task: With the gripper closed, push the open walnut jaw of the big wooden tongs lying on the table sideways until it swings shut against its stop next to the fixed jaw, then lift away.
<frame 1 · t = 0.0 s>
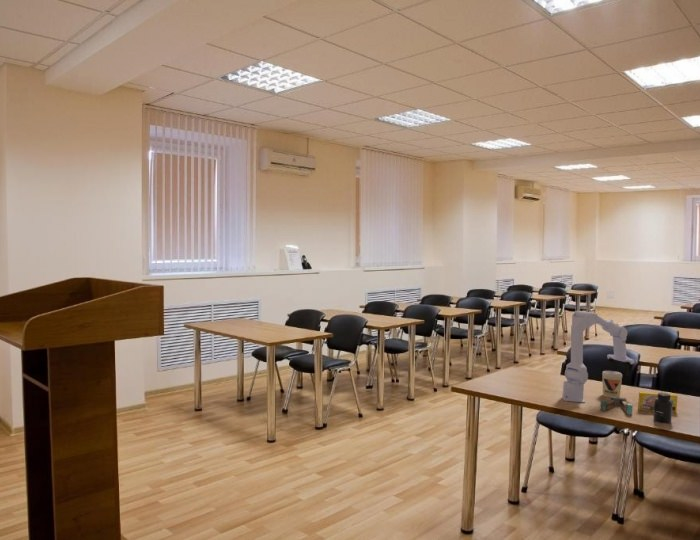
hand: (621, 374, 279), 11 cm above the table, tool pointing down, fingers open, 7 cm apart
supplement bottle: (662, 421, 237), on the table
tongs base: (618, 405, 259), on the table
coffee cup: (611, 396, 277), on the table
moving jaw: (607, 403, 254), point 2 cm above the table, hinge at -30.0°
candy box: (657, 411, 252), on the table
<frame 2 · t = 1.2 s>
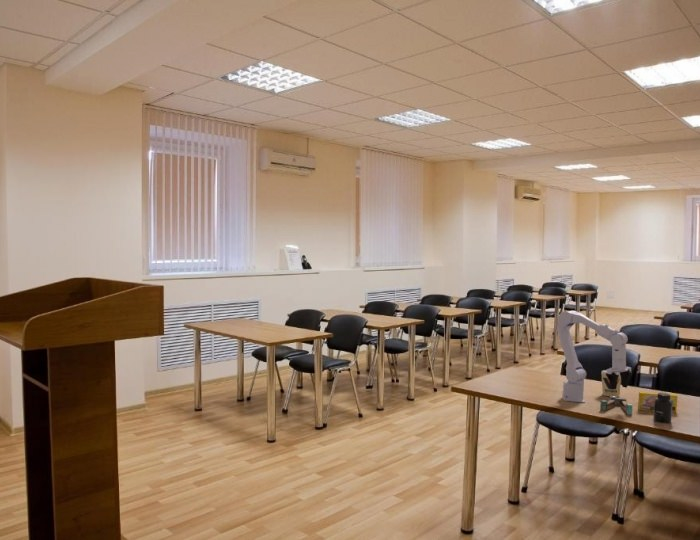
hand: (619, 388, 251), 10 cm above the table, tool pointing down, fingers open, 7 cm apart
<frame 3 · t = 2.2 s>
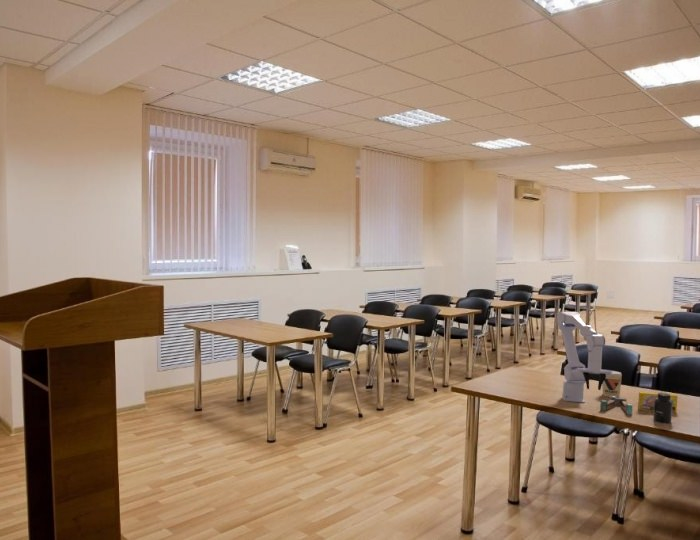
hand: (593, 389, 252), 9 cm above the table, tool pointing down, fingers open, 4 cm apart
nothing on the table moved.
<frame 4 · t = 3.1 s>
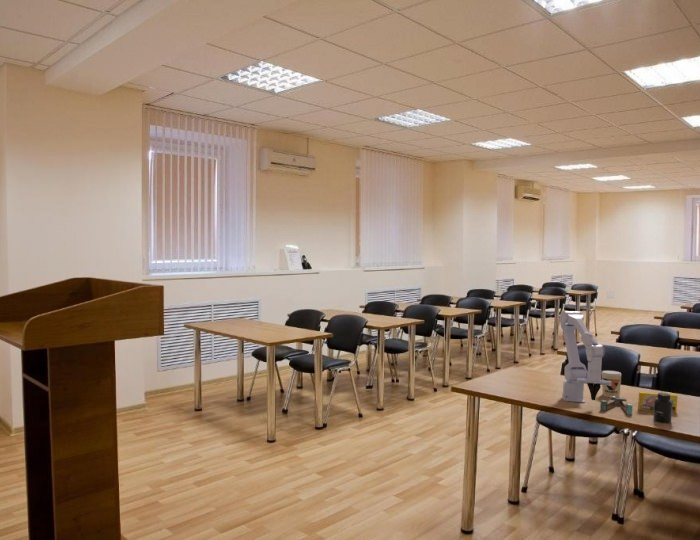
hand: (593, 399, 252), 4 cm above the table, tool pointing down, fingers closed
nothing on the table moved.
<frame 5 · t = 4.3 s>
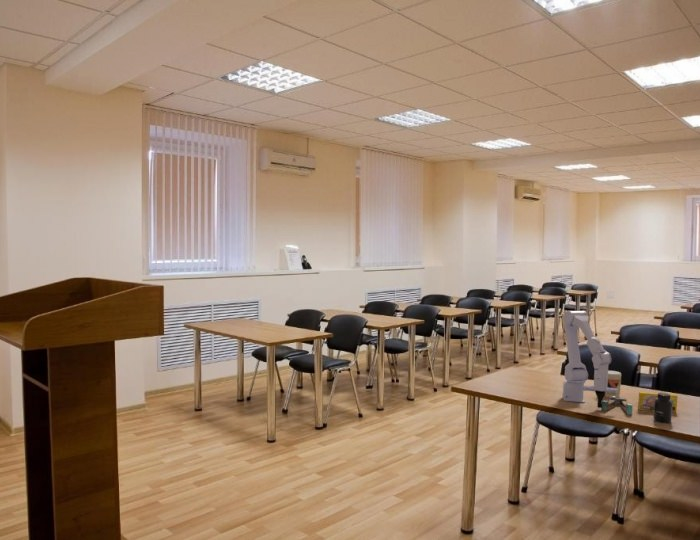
hand: (599, 407, 251), 1 cm above the table, tool pointing down, fingers closed, pressing on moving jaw
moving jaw: (608, 403, 254), point 2 cm above the table, hinge at -27.9°, touching gripper
everything else where it was.
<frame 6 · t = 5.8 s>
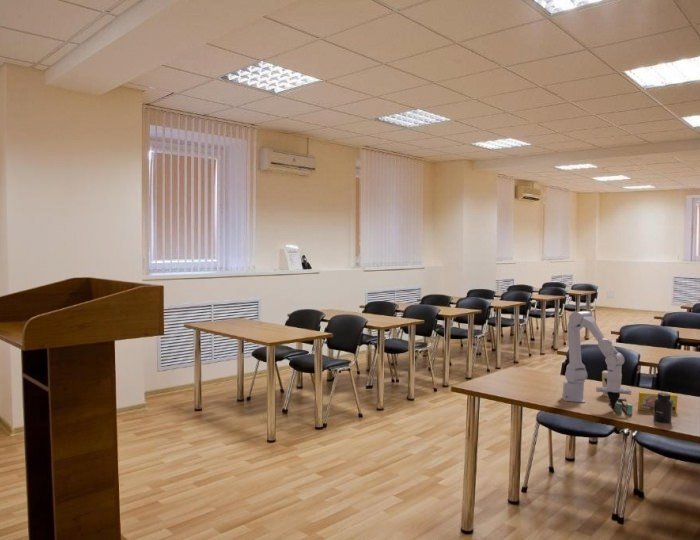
hand: (612, 408, 249), 1 cm above the table, tool pointing down, fingers closed
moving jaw: (617, 405, 252), point 2 cm above the table, hinge at -1.1°, touching gripper
everything else where it was.
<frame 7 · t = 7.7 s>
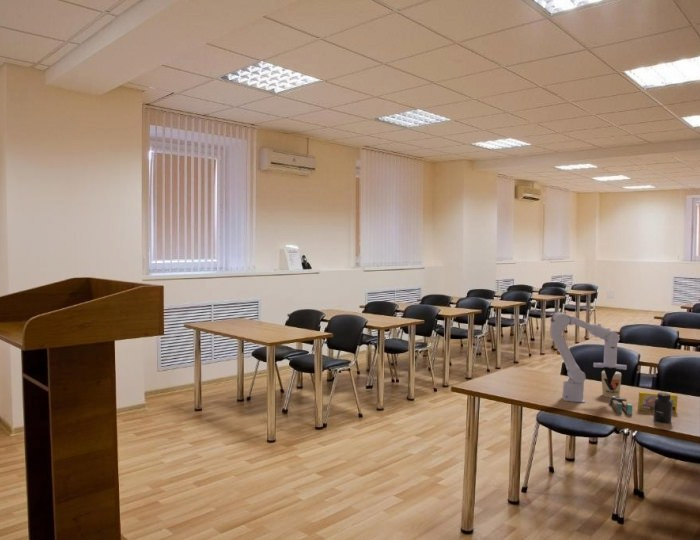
hand: (609, 382, 265), 9 cm above the table, tool pointing down, fingers closed
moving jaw: (617, 405, 252), point 2 cm above the table, hinge at -1.1°
everything else where it was.
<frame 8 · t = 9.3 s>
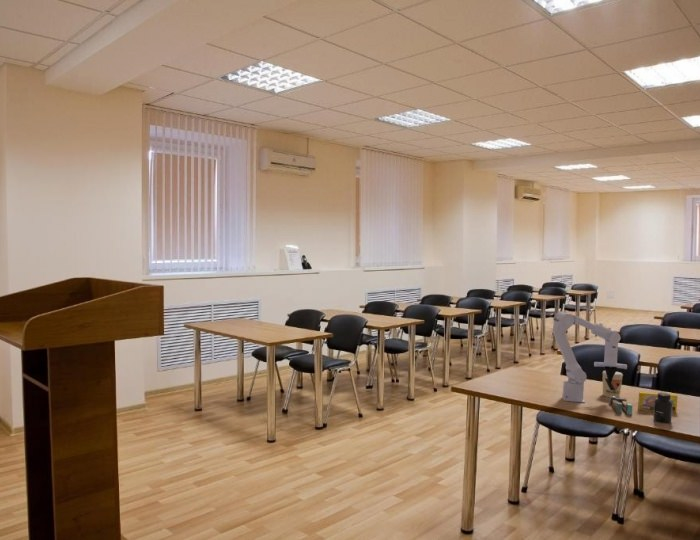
hand: (609, 382, 267), 9 cm above the table, tool pointing down, fingers closed
nothing on the table moved.
at the end: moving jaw at -1° (first picture: -30°); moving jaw touching nothing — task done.
